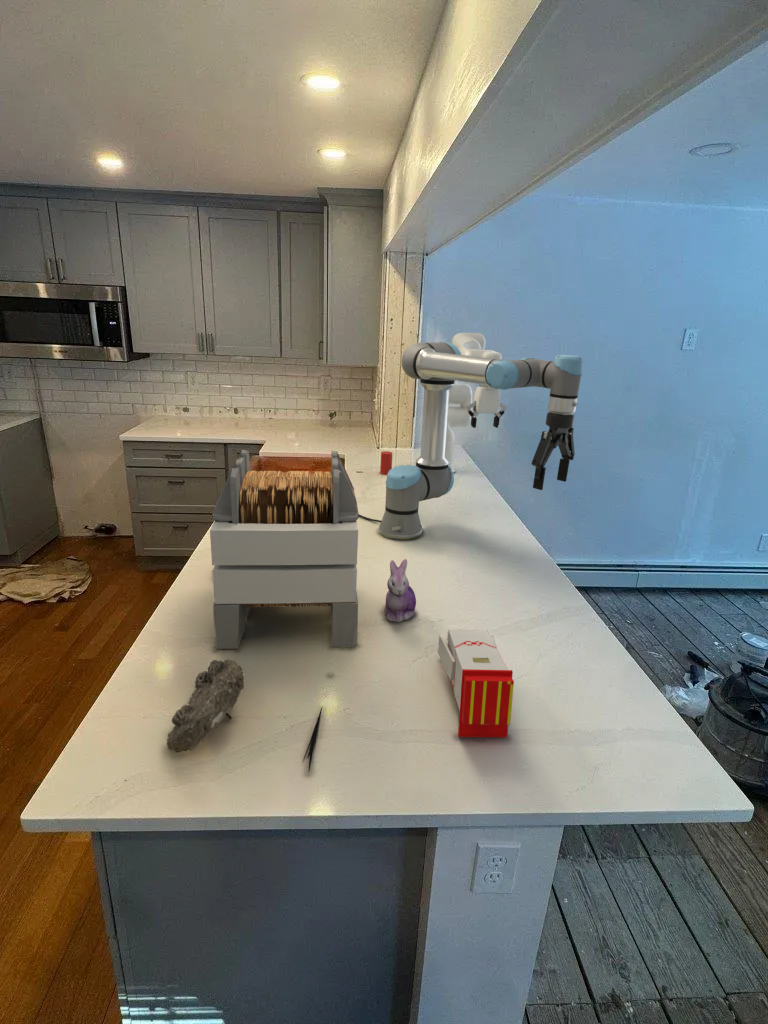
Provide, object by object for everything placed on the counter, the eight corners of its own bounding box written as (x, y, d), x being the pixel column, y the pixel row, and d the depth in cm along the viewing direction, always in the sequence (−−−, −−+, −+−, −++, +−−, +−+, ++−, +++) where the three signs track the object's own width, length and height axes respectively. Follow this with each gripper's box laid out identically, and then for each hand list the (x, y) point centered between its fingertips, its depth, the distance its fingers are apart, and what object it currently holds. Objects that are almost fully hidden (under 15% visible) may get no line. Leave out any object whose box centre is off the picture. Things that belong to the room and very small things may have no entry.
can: (380, 474, 270) (381, 453, 266) (379, 471, 275) (380, 451, 271) (392, 475, 270) (393, 454, 267) (390, 471, 275) (391, 451, 272)
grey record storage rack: (234, 582, 160) (226, 440, 146) (350, 581, 163) (353, 443, 150) (213, 651, 128) (201, 478, 114) (357, 647, 132) (363, 480, 118)
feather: (331, 679, 122) (336, 673, 122) (307, 777, 96) (313, 769, 95) (324, 675, 122) (329, 669, 121) (298, 772, 95) (304, 764, 95)
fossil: (192, 660, 117) (244, 628, 112) (224, 691, 120) (276, 661, 115) (142, 746, 98) (202, 712, 93) (182, 779, 101) (242, 748, 96)
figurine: (392, 627, 141) (395, 572, 136) (374, 608, 149) (376, 556, 144) (425, 619, 145) (429, 566, 140) (405, 601, 154) (408, 550, 149)
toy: (488, 613, 130) (523, 677, 101) (484, 667, 133) (517, 744, 104) (435, 612, 130) (455, 676, 101) (432, 666, 133) (451, 743, 103)
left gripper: (550, 419, 148) (538, 495, 155) (594, 410, 165) (581, 480, 172) (525, 414, 153) (515, 489, 160) (570, 406, 170) (559, 474, 177)
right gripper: (504, 383, 229) (500, 425, 235) (465, 382, 225) (461, 425, 231) (513, 385, 223) (508, 428, 228) (472, 385, 218) (468, 429, 224)
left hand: (549, 484), depth 166 cm, fingers open, 13 cm apart
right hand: (484, 427), depth 230 cm, fingers open, 9 cm apart
